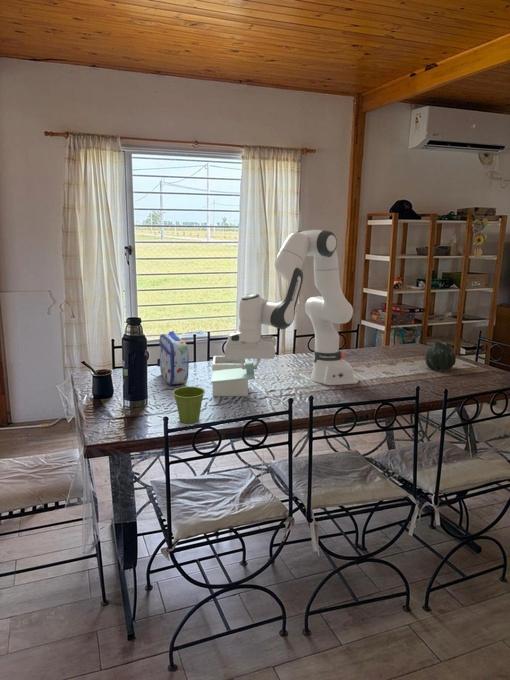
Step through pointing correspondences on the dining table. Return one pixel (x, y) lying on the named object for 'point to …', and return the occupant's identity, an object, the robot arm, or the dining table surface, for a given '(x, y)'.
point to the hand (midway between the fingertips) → (249, 369)
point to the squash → (440, 357)
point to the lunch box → (173, 359)
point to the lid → (234, 374)
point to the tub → (234, 386)
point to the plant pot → (189, 403)
